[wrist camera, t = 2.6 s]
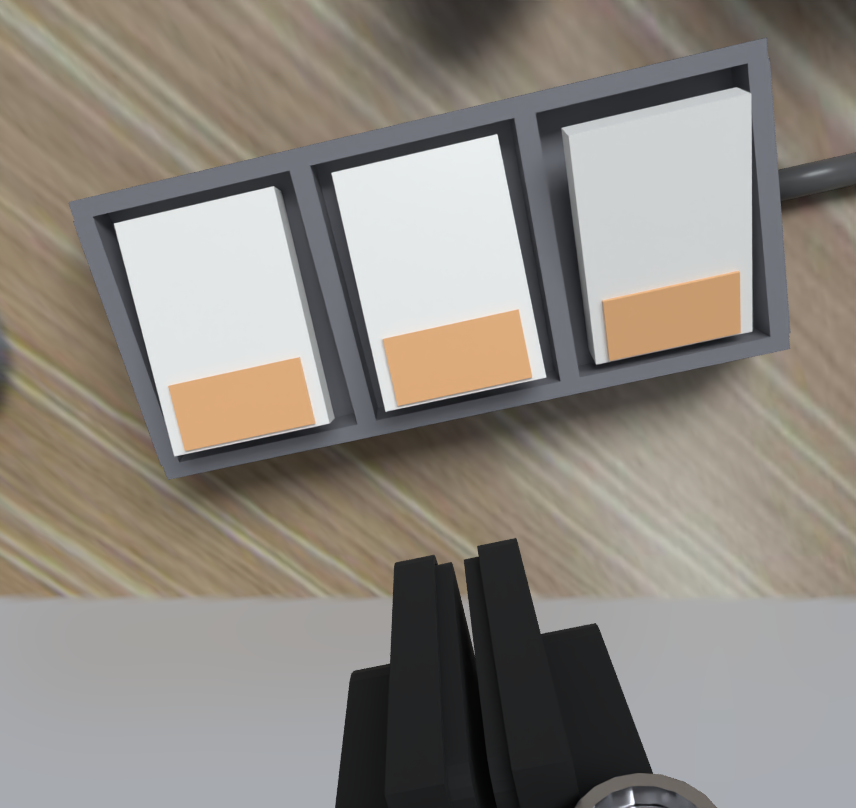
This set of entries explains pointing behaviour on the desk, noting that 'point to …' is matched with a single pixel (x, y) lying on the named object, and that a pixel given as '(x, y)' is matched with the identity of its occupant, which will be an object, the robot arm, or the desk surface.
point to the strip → (537, 232)
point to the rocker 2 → (663, 223)
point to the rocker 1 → (225, 321)
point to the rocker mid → (440, 273)
